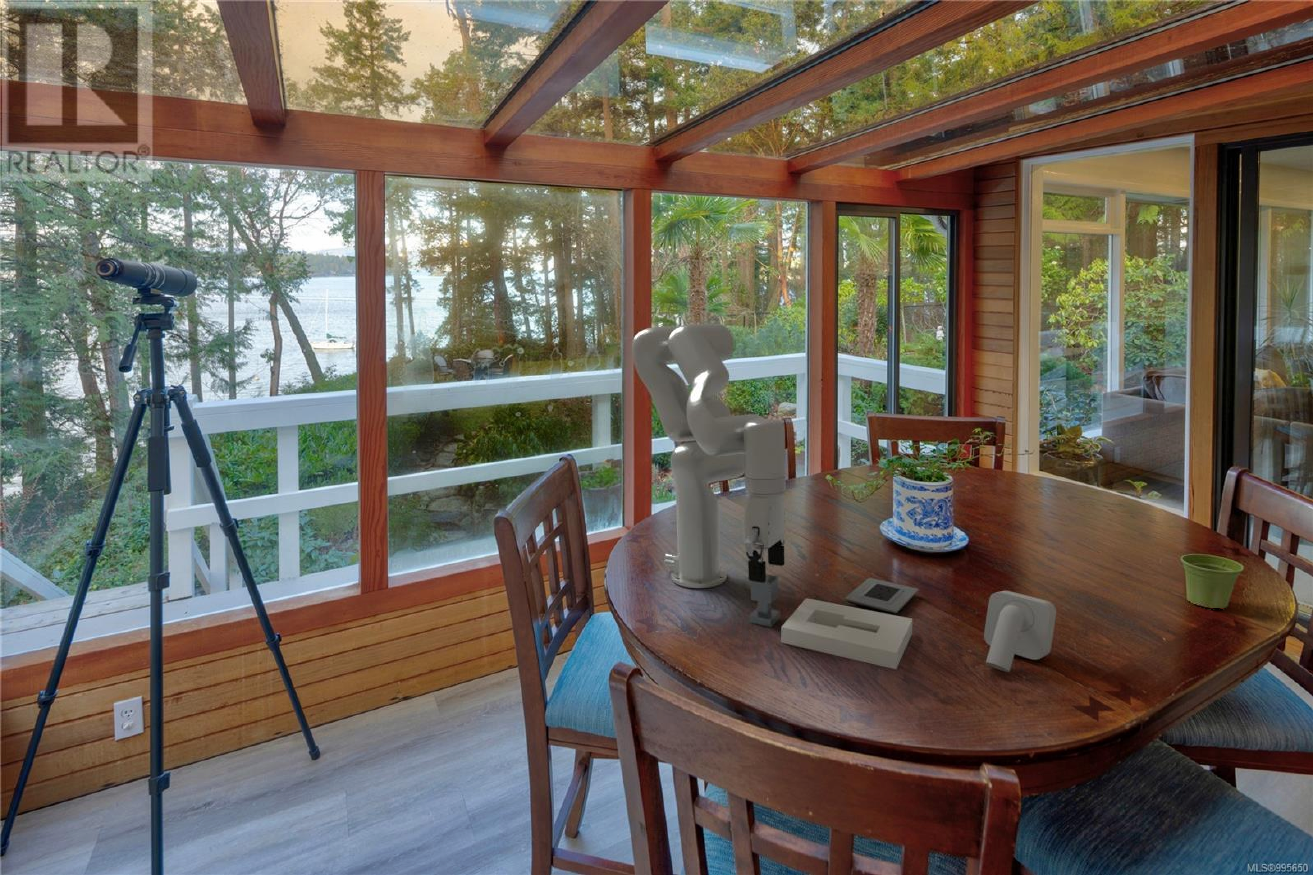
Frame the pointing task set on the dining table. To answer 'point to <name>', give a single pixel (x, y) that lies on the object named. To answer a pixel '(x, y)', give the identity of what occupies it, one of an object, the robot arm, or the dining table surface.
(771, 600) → the keyhole peg
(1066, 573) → the dining table surface
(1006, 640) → the wall hook
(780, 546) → the robot arm
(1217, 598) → the plant pot
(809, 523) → the dining table surface
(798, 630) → the keyhole plate
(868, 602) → the electrical outlet
